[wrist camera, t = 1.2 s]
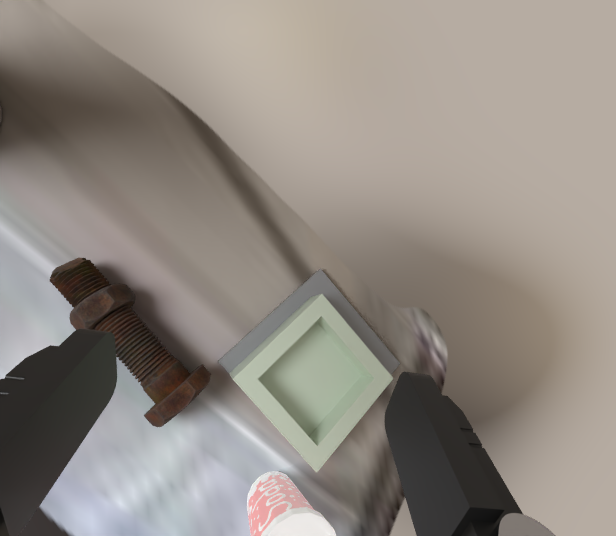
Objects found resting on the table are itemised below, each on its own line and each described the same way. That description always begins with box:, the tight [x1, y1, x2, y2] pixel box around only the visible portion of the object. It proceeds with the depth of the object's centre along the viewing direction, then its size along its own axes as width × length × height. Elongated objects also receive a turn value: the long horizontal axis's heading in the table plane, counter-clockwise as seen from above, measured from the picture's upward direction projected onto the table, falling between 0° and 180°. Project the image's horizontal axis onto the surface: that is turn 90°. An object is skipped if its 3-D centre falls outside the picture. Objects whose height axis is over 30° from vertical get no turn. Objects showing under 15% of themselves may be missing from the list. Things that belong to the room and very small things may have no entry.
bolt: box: [50, 258, 211, 427], centre depth 27 cm, size 6×5×15 cm
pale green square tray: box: [218, 269, 400, 473], centre depth 32 cm, size 14×14×4 cm
